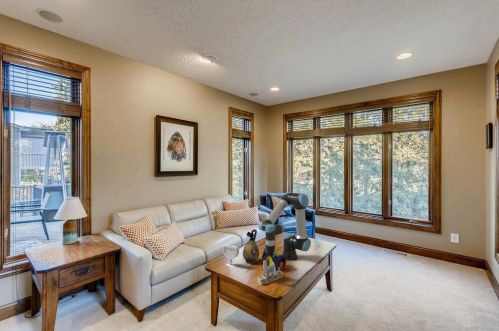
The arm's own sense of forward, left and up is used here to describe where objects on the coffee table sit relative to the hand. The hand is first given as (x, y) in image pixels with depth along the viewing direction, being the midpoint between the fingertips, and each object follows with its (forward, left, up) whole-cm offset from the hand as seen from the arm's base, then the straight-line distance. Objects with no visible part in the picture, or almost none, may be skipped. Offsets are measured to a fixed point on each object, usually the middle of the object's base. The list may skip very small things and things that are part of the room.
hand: (270, 271), depth 186 cm
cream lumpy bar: (0, 0, -7) cm, 7 cm away
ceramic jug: (-8, -37, -7) cm, 38 cm away
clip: (0, 0, -6) cm, 6 cm away
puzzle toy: (-19, -13, -7) cm, 24 cm away
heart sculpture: (+13, -40, -7) cm, 43 cm away
